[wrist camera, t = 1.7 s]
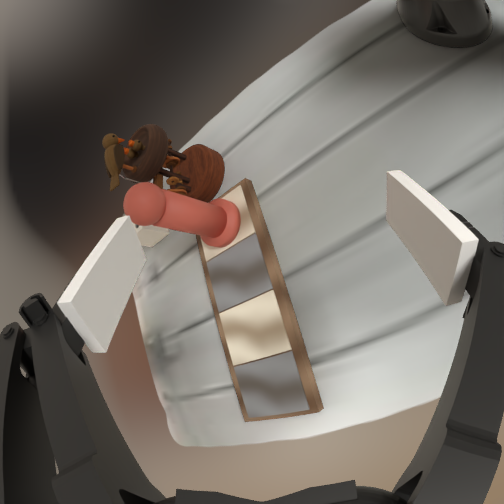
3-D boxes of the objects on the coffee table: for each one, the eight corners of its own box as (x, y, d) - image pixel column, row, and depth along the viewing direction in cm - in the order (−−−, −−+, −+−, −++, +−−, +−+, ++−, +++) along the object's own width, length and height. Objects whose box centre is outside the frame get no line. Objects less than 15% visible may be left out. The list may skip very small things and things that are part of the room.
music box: (238, 187, 45) (115, 153, 30) (197, 227, 51) (86, 210, 36) (212, 125, 51) (113, 89, 36) (179, 164, 57) (86, 140, 42)
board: (198, 219, 50) (191, 217, 49) (251, 180, 44) (244, 177, 42) (251, 419, 39) (244, 422, 37) (323, 408, 32) (318, 412, 31)
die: (148, 221, 60) (123, 216, 55) (164, 206, 57) (139, 199, 52) (152, 247, 58) (126, 243, 53) (169, 233, 55) (142, 228, 50)
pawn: (202, 215, 47) (111, 191, 34) (233, 192, 43) (140, 157, 31) (211, 255, 45) (114, 240, 32) (246, 234, 41) (145, 209, 28)
